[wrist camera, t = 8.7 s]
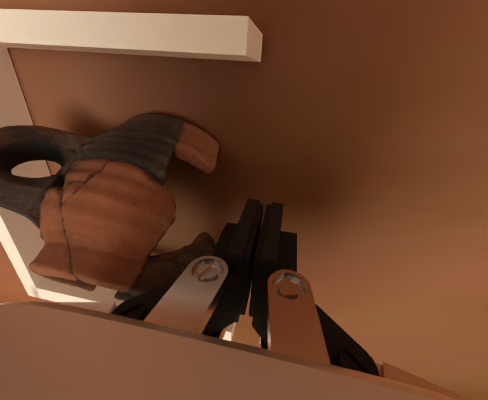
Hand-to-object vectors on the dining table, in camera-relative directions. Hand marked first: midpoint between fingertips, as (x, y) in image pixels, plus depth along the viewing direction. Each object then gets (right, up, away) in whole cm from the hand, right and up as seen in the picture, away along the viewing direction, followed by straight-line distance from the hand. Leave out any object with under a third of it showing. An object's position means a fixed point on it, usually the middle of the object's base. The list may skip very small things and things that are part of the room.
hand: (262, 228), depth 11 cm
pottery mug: (-6, +2, +4) cm, 8 cm away
